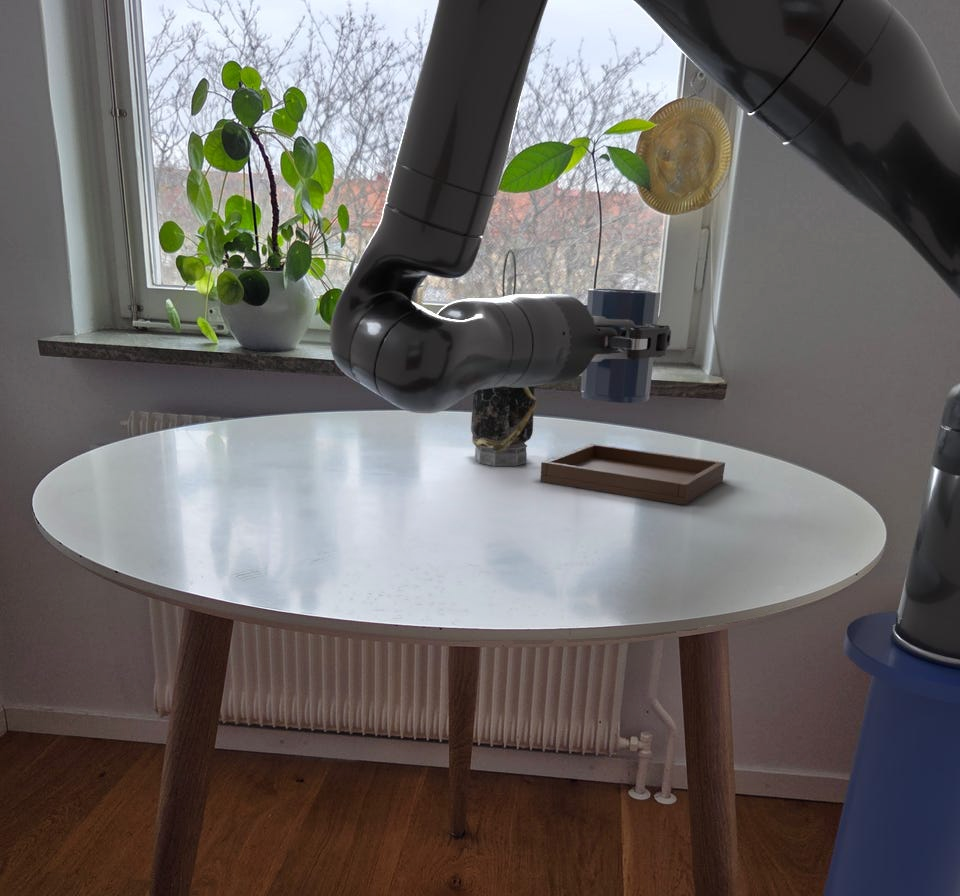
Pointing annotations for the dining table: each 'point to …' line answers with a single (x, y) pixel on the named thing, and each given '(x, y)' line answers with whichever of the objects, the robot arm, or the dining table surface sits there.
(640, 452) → the tray
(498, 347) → the robot arm
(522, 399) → the lantern
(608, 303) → the cup
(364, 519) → the dining table surface
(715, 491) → the dining table surface
